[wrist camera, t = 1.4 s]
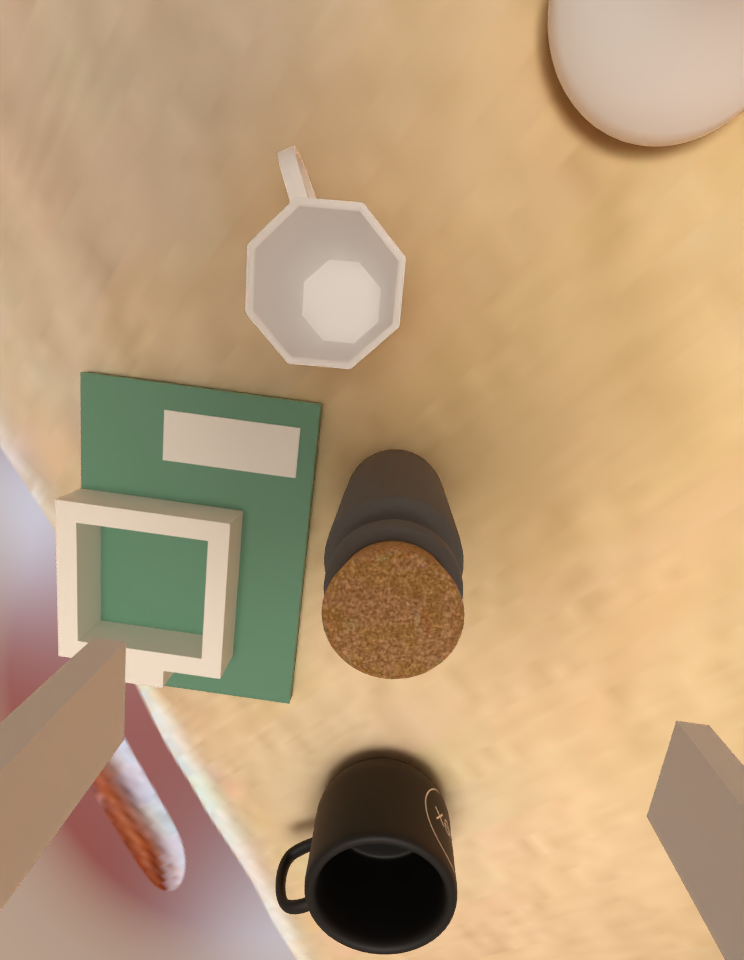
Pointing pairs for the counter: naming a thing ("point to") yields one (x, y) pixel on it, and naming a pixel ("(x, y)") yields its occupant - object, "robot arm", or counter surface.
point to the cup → (323, 276)
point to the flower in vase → (650, 65)
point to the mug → (377, 860)
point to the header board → (189, 533)
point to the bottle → (393, 570)
